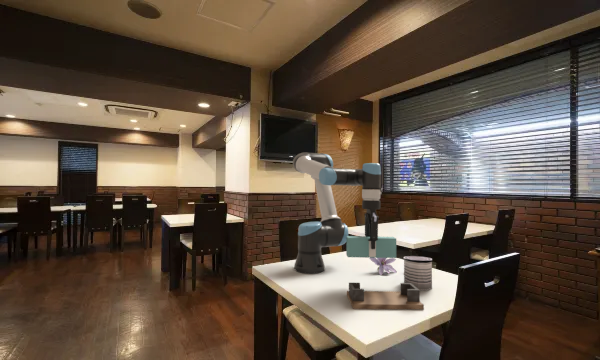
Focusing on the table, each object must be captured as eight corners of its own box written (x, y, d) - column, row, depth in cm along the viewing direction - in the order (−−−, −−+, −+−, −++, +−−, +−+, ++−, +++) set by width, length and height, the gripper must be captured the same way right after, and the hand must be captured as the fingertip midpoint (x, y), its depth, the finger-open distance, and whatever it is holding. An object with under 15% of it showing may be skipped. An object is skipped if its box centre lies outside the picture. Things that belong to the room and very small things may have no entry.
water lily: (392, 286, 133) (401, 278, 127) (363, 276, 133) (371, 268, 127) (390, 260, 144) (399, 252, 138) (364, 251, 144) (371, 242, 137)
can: (403, 288, 112) (403, 258, 112) (403, 279, 123) (403, 252, 123) (433, 292, 108) (433, 261, 108) (431, 283, 118) (431, 255, 119)
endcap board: (353, 308, 92) (353, 292, 92) (346, 294, 104) (346, 280, 104) (423, 309, 92) (423, 292, 92) (409, 295, 104) (409, 280, 104)
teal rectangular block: (348, 257, 113) (348, 237, 113) (346, 254, 117) (346, 236, 117) (396, 257, 113) (396, 238, 113) (392, 255, 117) (393, 236, 117)
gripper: (386, 200, 107) (386, 260, 106) (374, 198, 124) (374, 250, 123) (367, 200, 107) (366, 260, 106) (358, 198, 124) (357, 250, 123)
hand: (370, 255), depth 115 cm, fingers closed on teal rectangular block, 4 cm apart
